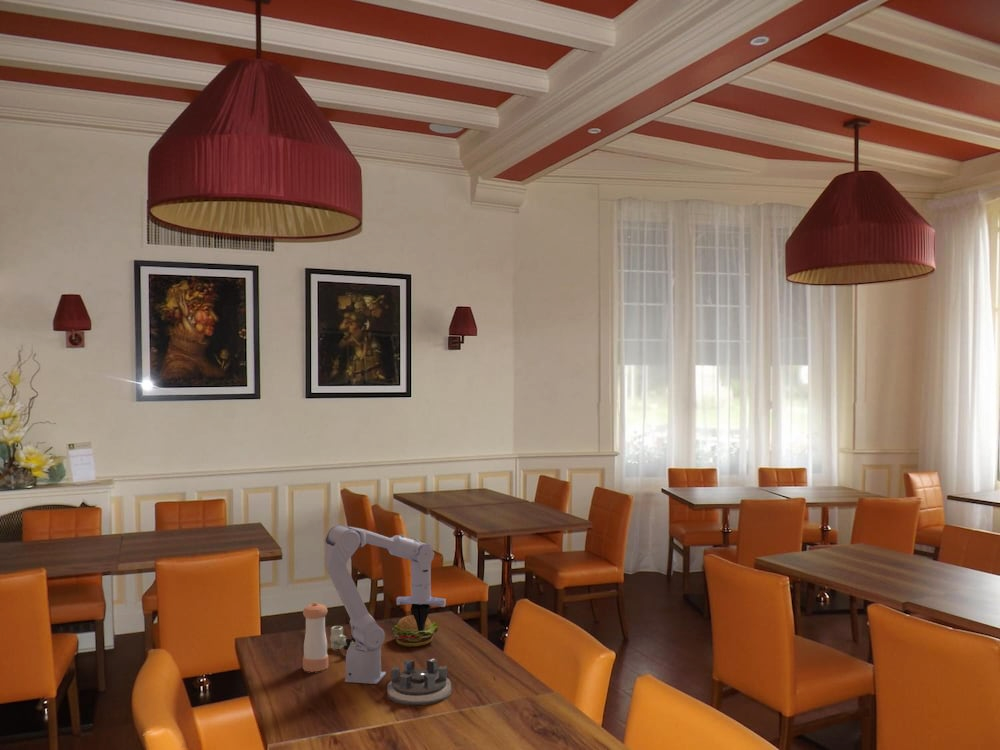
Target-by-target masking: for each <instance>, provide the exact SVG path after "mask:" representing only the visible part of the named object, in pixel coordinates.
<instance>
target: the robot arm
mask: <svg viewBox="0 0 1000 750" xmlns="http://www.w3.org/2000/svg"><path fill="white" fill-rule="evenodd" d="M323 541H324V546H325V548H324V549H325V550H324V551H325V552H324V553H325V555H324V566H325V569H326V572H327V574H328V575H329V578H330V580H331V582H332V584H333V586H334V588H335V590H336V593H337V594H338V596H339V598H340V600H341V602H342V604H343V606H344V608H345V610H346V612H347V614H348V616H349V618H350V620H349V625H350V627H351V631H350V633H351V635H352V636H353V638H354V639H355V640H356V642H355V645H352V646H349V648H348V650H346V652H347V653H346V652H345V679H344V682H345V683H355V684H357V683H358V684H371V685H372V684H374V685H377V684H378V683H379V682H381V680H382V679H383V678H384V677H385V676H386V674H387V671H382V645H383V644H384V641H385V639H386V632H385V630H384V629H383V628H382V627H381V626H379V625H378V623H377V622H376V620H375V618H374V617H373V616H372V615H371V614H370V613H369V611H368V609H367V607H366V604H365V602H364V600H363V598H362V596H361V594H360V592H359V589H358V588H357V586H356V583H355V581H354V580H353V577H352V575H351V573H350V571H349V569H348V567H347V564H348V562H349V560H350V558H352V556H353V555H354V553H355V552H356V551H357V550H358V548H363V547H364V546H366V545H367V544H368V545H372V546H376V547H381V548H384V549H387V551H388V553H389V554H390V555H391V556H395V557H398V558H403V559H406V560H410V561H411V562H410V575H411V576H410V581H411V582H410V583H411V584H410V587H411V588H410V589H411V591H410V593H411V595H410V596H398V597H396V606H401V605H409V606H410V605H411V606H410V612H411V615H414V618H415V620H416V623H417V627H418V631H423V630H424V628H425V622H426V619H427V618H428V615H429V612H430V610H431V608H432V607H441V608H445V607H446V606H447V605H446V604H447V602H446V601H447V599H446V598H443V597H442V598H441V597H434V596H432V590H431V589H432V585H431V582H432V581H431V579H432V577H431V576H432V574H431V573H432V571H431V569H432V561H433V560H434V558H435V552H434V550H433V547H432V546H431V545H430V544H428V543H424V542H421V541H420V540H419V539H417V538H414V539H412V538H409V537H407V536H406V535H405V534H402V533H400V534H399V535H397V534H396V535H393V536H392V537H388V536H385V535H382V534H379V533H377V532H374V531H370V530H367V529H365V528H360V527H355V526H346V527H345V526H344V525H341V524H336V525H333V526H332V527H330V528H329V530H327V533H326V536H325V538H324V540H323Z"/></svg>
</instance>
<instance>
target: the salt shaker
mask: <svg viewBox="0 0 1000 750" xmlns="http://www.w3.org/2000/svg"><path fill="white" fill-rule="evenodd" d="M302 614H303V617H304V618H305V633H304V634H305V636H304V642H303V656H302V670H303V669H304V670H305V671H311V672H313V671H320V670H324V669H326V668H327V669H328V668H329V654H328V640H327V639H328V638H327V635H326V616H327V614H328V608H327V606H326V605H324V604H322V603H319V602H317V601H313V602H312V604H311V603H310V604H309V605H306V606H305V607H304V609H303V611H302ZM327 669H326V670H327ZM305 671H304V672H305ZM324 671H325V670H324Z"/></svg>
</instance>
